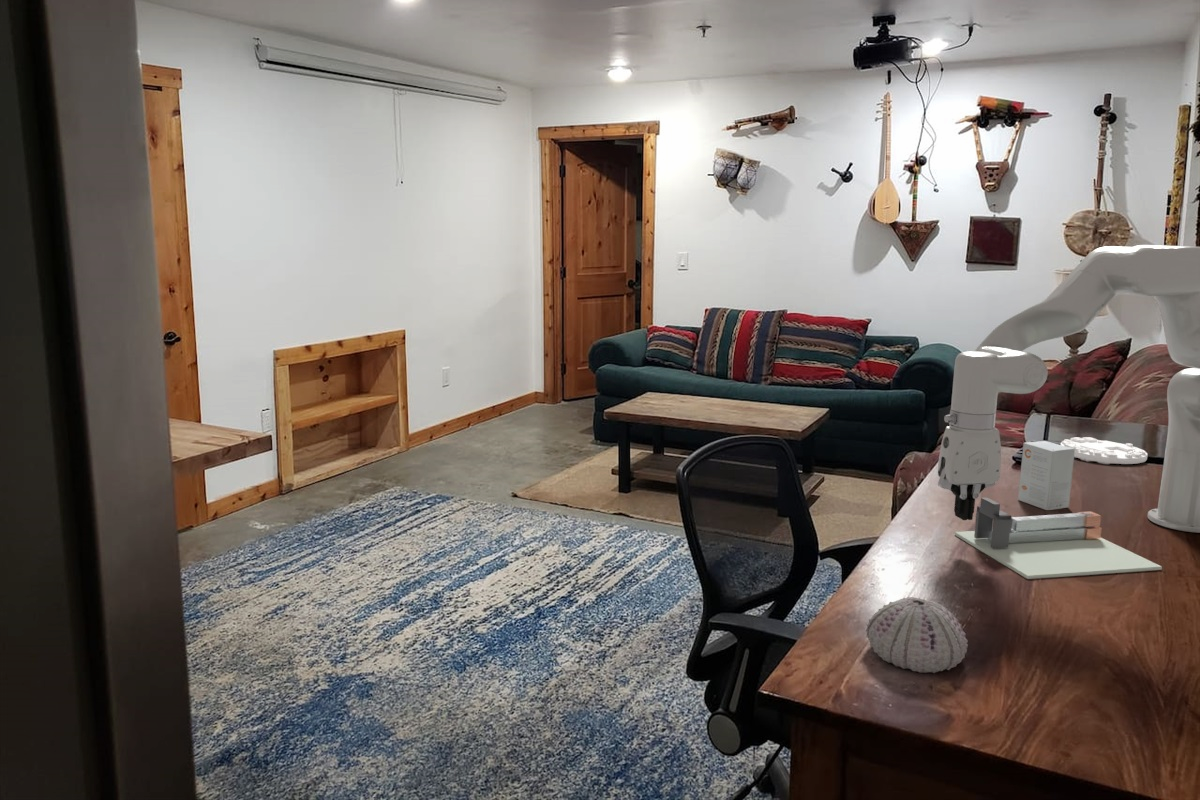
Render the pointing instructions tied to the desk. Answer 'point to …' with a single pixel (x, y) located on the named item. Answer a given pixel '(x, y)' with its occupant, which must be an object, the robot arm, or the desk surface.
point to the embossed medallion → (1105, 451)
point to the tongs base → (1052, 534)
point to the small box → (1046, 475)
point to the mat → (1062, 557)
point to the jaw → (1056, 521)
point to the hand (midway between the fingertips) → (963, 517)
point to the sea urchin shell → (917, 635)
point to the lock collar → (992, 515)
